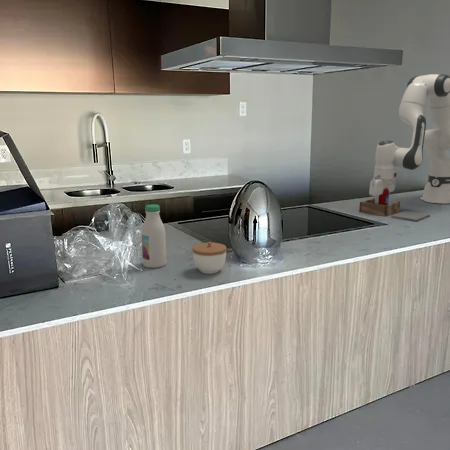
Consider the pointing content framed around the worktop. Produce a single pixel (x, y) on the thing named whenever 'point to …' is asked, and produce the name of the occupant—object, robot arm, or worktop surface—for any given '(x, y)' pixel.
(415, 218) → the rubber mat
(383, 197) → the beverage can
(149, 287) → the worktop surface
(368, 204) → the wooden tray
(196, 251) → the lidded jar
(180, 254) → the worktop surface
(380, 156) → the robot arm
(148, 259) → the milk bottle
